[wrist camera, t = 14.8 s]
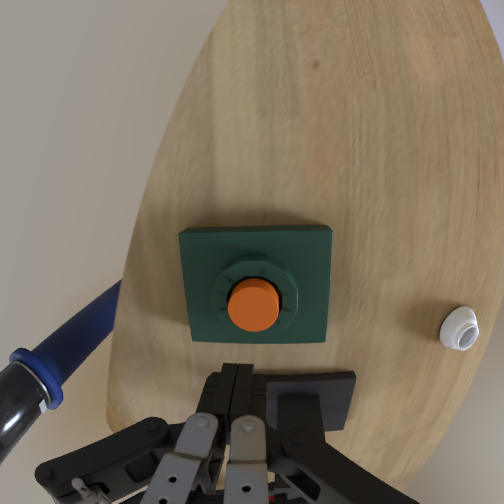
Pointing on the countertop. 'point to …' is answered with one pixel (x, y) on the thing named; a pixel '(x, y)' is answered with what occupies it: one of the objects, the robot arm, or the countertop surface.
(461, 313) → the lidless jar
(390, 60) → the countertop surface
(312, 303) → the dark green panel
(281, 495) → the lever stand
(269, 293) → the warm button
